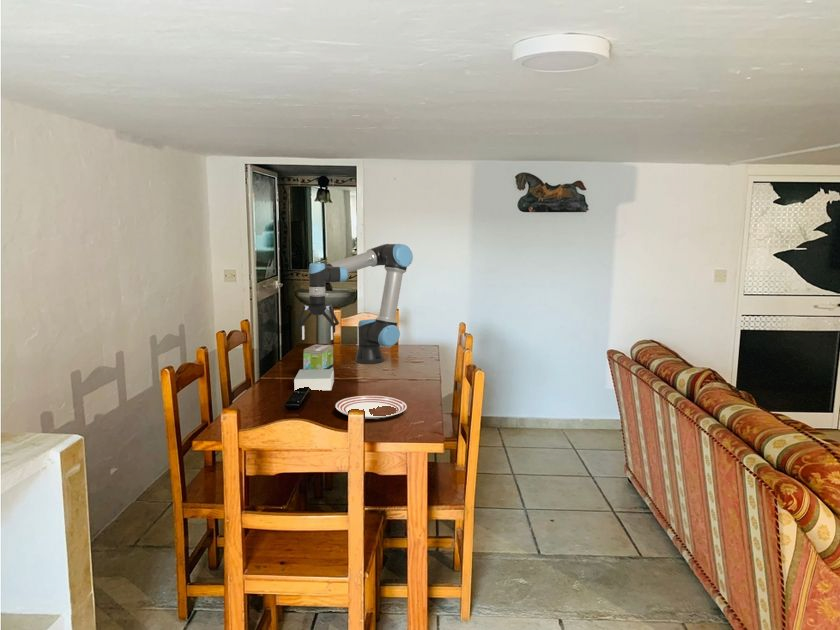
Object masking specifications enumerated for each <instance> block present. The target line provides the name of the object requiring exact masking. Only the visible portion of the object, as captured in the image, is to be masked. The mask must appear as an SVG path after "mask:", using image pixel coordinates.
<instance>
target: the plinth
mask: <svg viewBox="0 0 840 630" xmlns="http://www.w3.org/2000/svg"><path fill="white" fill-rule="evenodd" d="M293 383H294V391H295V390H297V389H299V388H304V387H309V388H310V389H311V390H319V391H320V390H322V392H323V391H332V389H333V385H334V383H335V371H334V368H333V369H303V368H302V369H299V370H298V372H297V374H296V375H295V377H294V380H293Z"/></svg>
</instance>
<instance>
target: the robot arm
mask: <svg viewBox="0 0 840 630" xmlns="http://www.w3.org/2000/svg"><path fill="white" fill-rule="evenodd" d="M413 255H414V254H413V251H412V250H411V248H410V247H409V246H408V245H406V244H401V243H393V244H392V243H386V244H384V243H383V244H381V245H377V246H375V247H372V248H370V249H369V248H368V249H367V250H366V251H365V252H362V253H359V254H356V255H352V256H349V257H346V258H342V259H338V260H335V261H332V262H329V263H323V262H311V263H309V266H308V294H309V298H308V301H309V302H308V303H309V305H306V304H305V305H303V306H302V310H301V312H300V314H299V317H298V318H297V320H296V322H295V324H296V326H299V333H300V334H301V335H302V337H301V340H302V341H304V340H305V337H306V335H305V332H306V331H305V330H306V329H305V325H304V324H305V323H306V322H307V321H308V319H309V318H310V317H311V316H312V315H313V316H316V315H318V316H321V315H322V316H324V318H325V319H326V320H327V321H328V322H329V324H330V341H332V340H334V333H336V326H338V325H340V322H339V320H338V319H337V318H338V317H337V316H336V314H335V313H334V310H333V305H326V296H325V295H326V283H328V284H329V283H342V282H343V283H344V282H346V281H347V279H348V276H349V273H351V272H352V273H353V272H355V271H358V270H360V269H361V270H363V269H364V268H367V267H376V266H377V267H378V266H379V267H380V266H384V270H385V271H386V273H385V281H384V286H383V291H382V298H381V301H380V303H381V304H380V309H379V314H378V317H376V318H373V319H372V318H370V319H362V320H361V319H360V321H358V325H357V328H358V329H357V330H358V336H357V337H358V347H357V351H356V355H355V359H354V360H355V362H356V363H357V364H365V365H367V364H368V365H372V364H381V363H383V362H384V356H383V353H382V349H381V347H384V348H385V347H387V348H391V347H394V345H396V344H397V343H398V341H399V339H400V336H401V332H400V330H399V327H398V321H397V319H396V317H397V310H398V305H399V298H400V293H401V286H402V280H403V276H404V275H403V274H404V273H406V272H407V269H408V267H409V266H410V265H411V264H412V262H413V258H414V256H413ZM307 310H309V311H310V312H309V313H308V315H306V316H305V318H304V319H303V320H302V318H303V316H304V315H305V313H306V311H307ZM326 310H327V311H329V313H330V315H331V317H332V318H331V317H330V316H329V315H328V313H326ZM301 320H302V321H301Z"/></svg>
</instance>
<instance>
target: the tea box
mask: <svg viewBox="0 0 840 630" xmlns="http://www.w3.org/2000/svg"><path fill="white" fill-rule="evenodd" d="M302 369H333V370H334V345H333V344H319V343H318V344H313V345H311V346H308V347H306V348H304V349H303V368H302Z"/></svg>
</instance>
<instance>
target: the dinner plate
mask: <svg viewBox="0 0 840 630" xmlns="http://www.w3.org/2000/svg"><path fill="white" fill-rule="evenodd" d="M334 406H335V407H334V408H336V410H337V411H338V412H340V413H341V414H343V415H346V416H348V411H349V410H351V409H359V410H363V409H364V411H365V419H364V420H366V419H375V420H380V419H379V418H383V419H387V418H389V417H394V416H395V415H398V414H401V413H403V412H405V411H406V410H407V408H408V406H407V404H406V403H405V402H404V401H402V400H400V399H397V398H395V397H390V396H383V395H359V396H351V397H346V398H343V399H341V400H338V401H337V402H336V403H335V405H334ZM378 406H379V407H382V406H391V407H394V408H396V410H397V411H396V413H394V414H391V415H386V416H373V414H372V415H371V414H370V412H369V409H373V408H375V409H376V408H377V407H378ZM386 417H387V418H386Z"/></svg>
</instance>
